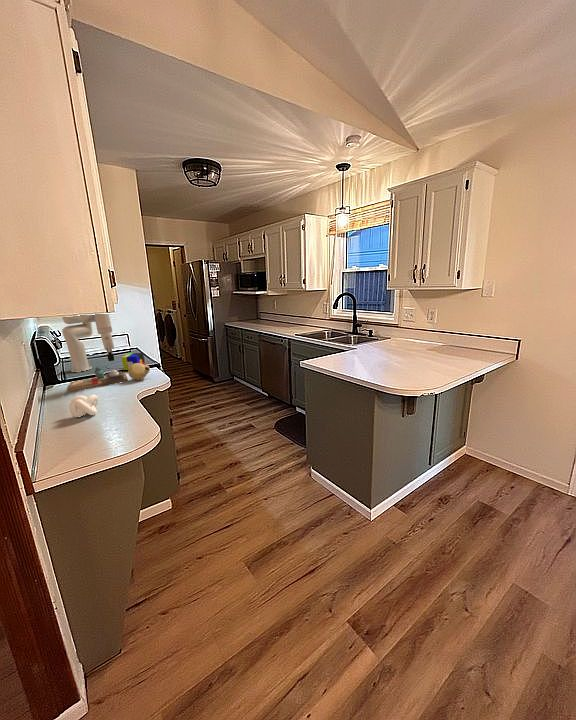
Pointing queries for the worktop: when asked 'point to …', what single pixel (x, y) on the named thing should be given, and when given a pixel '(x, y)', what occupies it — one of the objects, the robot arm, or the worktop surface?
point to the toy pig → (138, 371)
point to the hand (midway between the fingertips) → (111, 360)
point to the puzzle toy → (132, 359)
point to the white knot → (83, 405)
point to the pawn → (99, 373)
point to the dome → (113, 373)
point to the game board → (89, 384)
